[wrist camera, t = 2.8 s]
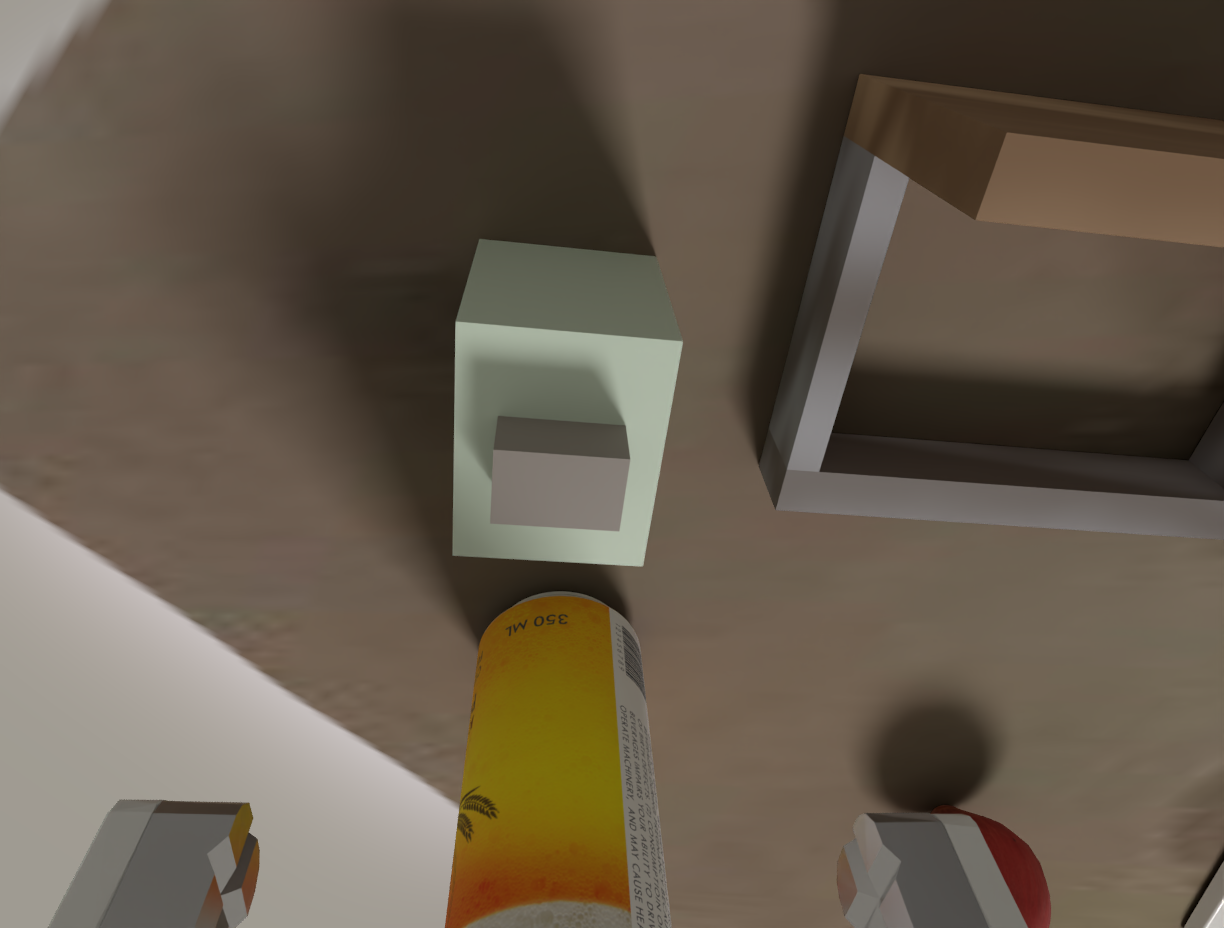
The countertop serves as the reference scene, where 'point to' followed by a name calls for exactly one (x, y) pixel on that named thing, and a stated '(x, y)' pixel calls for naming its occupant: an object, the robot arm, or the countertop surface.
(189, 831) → the robot arm
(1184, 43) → the countertop surface
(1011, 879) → the onion
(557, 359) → the cabinet block
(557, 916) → the beer can
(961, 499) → the grey and wood frame
